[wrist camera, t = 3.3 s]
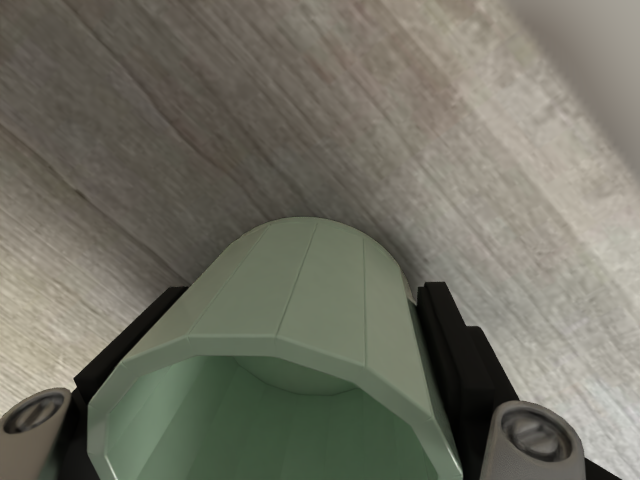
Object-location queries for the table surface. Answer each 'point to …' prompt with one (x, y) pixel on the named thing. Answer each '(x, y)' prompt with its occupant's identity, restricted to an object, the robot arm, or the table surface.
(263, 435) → the green tumbler
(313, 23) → the table surface
